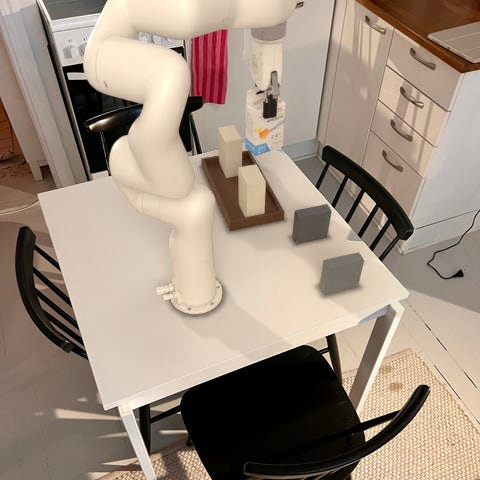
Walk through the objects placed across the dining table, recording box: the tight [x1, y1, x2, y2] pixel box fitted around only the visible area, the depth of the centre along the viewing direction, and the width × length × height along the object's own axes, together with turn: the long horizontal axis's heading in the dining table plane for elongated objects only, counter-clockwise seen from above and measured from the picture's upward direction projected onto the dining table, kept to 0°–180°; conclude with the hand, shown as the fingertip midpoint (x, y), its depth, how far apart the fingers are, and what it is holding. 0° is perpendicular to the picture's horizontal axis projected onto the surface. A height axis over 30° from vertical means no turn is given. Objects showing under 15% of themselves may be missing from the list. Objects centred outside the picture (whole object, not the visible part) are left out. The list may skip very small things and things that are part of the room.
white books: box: [217, 124, 266, 218], centre depth 142 cm, size 5×29×12 cm, turn 17°
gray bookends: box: [291, 203, 365, 296], centre depth 126 cm, size 9×22×9 cm, turn 17°
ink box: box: [244, 84, 287, 157], centre depth 121 cm, size 8×5×15 cm, turn 122°
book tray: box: [200, 149, 285, 232], centre depth 146 cm, size 16×32×3 cm, turn 17°
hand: (265, 109), depth 119 cm, fingers closed on ink box, 6 cm apart
